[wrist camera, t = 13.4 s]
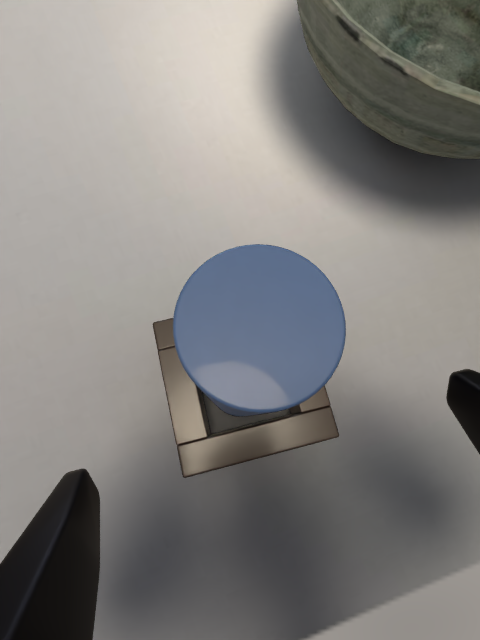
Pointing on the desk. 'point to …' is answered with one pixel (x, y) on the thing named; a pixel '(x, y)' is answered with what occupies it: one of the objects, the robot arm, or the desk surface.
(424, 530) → the desk surface
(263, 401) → the blue tall cylinder
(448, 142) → the bowl
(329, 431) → the frame
